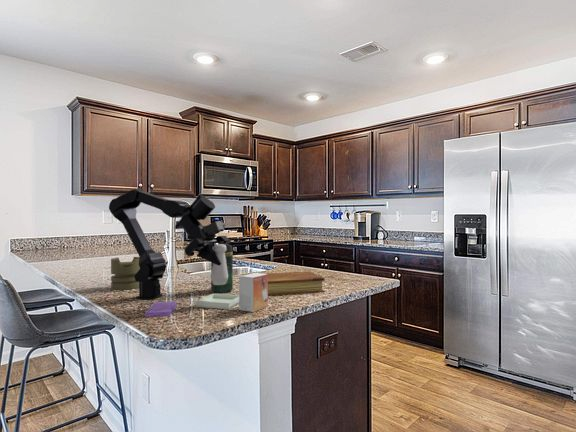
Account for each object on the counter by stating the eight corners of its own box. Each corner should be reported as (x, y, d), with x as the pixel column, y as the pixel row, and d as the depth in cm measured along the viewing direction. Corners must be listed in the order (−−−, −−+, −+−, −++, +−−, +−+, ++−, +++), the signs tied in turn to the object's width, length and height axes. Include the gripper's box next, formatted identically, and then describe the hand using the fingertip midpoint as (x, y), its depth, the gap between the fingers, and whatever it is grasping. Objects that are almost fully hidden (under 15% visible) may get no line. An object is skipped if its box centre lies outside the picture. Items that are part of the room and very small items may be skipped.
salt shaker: (218, 286, 115) (218, 245, 115) (206, 284, 118) (207, 244, 118) (232, 283, 119) (232, 244, 119) (220, 281, 123) (220, 243, 123)
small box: (253, 312, 108) (252, 277, 108) (238, 310, 111) (238, 275, 111) (268, 307, 114) (268, 273, 114) (254, 304, 117) (254, 272, 117)
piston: (142, 259, 144) (110, 260, 139) (142, 289, 144) (110, 292, 139) (140, 256, 154) (111, 257, 149) (141, 284, 154) (111, 286, 149)
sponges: (145, 318, 104) (145, 312, 104) (154, 307, 117) (154, 301, 117) (170, 317, 105) (170, 310, 105) (176, 306, 118) (176, 300, 118)
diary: (309, 284, 155) (309, 271, 155) (324, 293, 136) (324, 278, 136) (256, 287, 149) (256, 273, 149) (264, 296, 131) (264, 280, 131)
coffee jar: (235, 292, 137) (234, 243, 137) (214, 294, 134) (213, 243, 134) (229, 287, 146) (229, 241, 146) (209, 289, 143) (209, 242, 143)
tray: (195, 306, 115) (195, 301, 115) (213, 298, 126) (213, 293, 126) (228, 309, 112) (228, 303, 112) (243, 300, 123) (243, 295, 123)
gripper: (192, 212, 112) (223, 249, 108) (224, 213, 129) (251, 245, 125) (171, 237, 114) (201, 274, 111) (205, 234, 132) (231, 266, 128)
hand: (223, 264), depth 119 cm, fingers closed on salt shaker, 3 cm apart
